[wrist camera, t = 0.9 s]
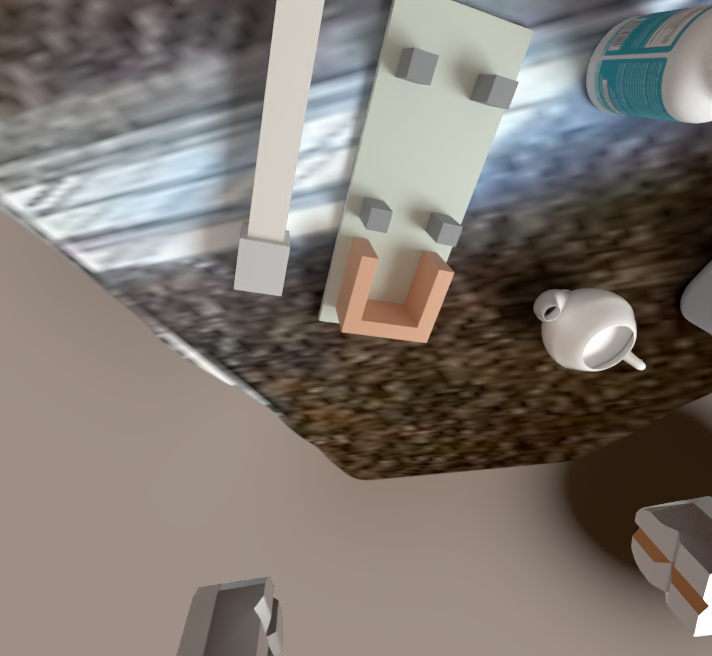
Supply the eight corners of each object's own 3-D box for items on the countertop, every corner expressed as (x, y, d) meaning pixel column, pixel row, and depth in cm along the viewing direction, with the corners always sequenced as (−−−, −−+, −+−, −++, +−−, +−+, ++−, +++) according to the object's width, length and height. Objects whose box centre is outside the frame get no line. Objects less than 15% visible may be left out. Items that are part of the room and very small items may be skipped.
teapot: (579, 362, 57) (627, 408, 49) (475, 303, 49) (512, 347, 41) (634, 307, 54) (694, 348, 46) (531, 234, 45) (583, 269, 38)
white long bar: (274, -44, 30) (273, -59, 26) (333, -23, 31) (340, -35, 28) (237, 269, 42) (233, 289, 38) (280, 276, 43) (281, 296, 40)
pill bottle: (635, 117, 41) (773, 137, 29) (569, 106, 39) (689, 123, 28) (675, 23, 37) (852, 5, 25) (604, 7, 35) (759, -21, 24)
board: (396, -18, 32) (419, -33, 27) (528, 32, 35) (570, 26, 30) (318, 316, 46) (323, 346, 41) (416, 329, 50) (432, 358, 45)
